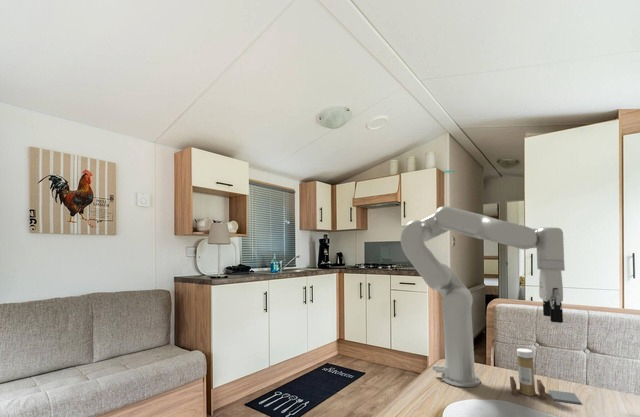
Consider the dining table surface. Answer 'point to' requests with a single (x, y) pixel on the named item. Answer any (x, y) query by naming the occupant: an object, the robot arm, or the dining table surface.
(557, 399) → the slate coaster
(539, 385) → the walnut rack
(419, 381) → the dining table surface
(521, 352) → the sprinkles bottle
